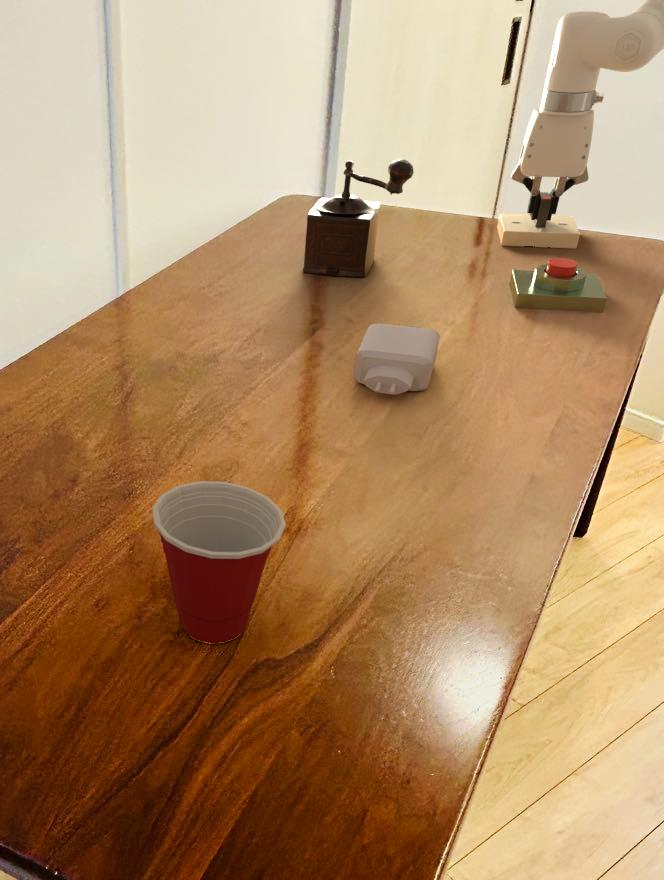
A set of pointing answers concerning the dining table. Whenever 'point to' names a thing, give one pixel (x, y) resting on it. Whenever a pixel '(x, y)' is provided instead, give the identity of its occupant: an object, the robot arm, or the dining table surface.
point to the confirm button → (561, 267)
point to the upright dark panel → (543, 210)
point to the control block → (557, 291)
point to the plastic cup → (216, 553)
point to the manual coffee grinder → (348, 226)
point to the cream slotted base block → (537, 231)
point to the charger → (396, 358)
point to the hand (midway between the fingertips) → (540, 217)
